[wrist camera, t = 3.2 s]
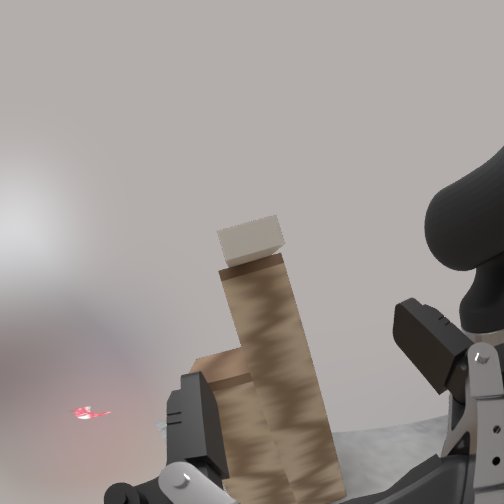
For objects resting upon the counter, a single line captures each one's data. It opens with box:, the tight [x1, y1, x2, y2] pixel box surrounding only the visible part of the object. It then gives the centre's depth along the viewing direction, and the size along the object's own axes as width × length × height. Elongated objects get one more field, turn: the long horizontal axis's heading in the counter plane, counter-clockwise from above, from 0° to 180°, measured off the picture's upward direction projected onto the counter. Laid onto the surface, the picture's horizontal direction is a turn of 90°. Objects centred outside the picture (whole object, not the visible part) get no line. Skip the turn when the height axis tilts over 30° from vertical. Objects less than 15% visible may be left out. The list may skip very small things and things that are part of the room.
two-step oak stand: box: [189, 253, 346, 504], centre depth 31 cm, size 13×12×32 cm
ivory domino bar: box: [217, 215, 285, 268], centre depth 28 cm, size 4×20×2 cm, turn 3°
